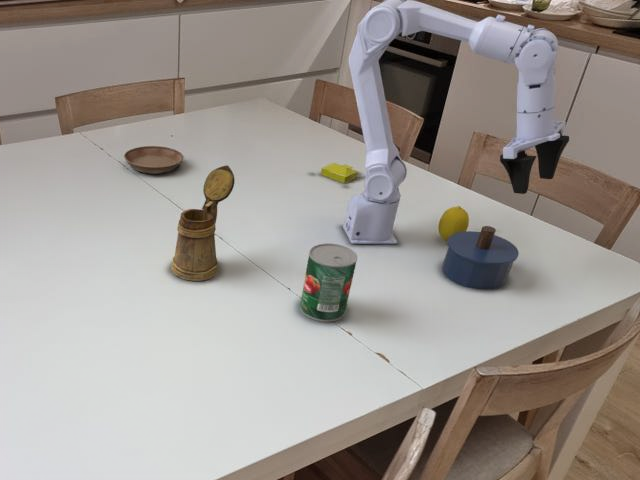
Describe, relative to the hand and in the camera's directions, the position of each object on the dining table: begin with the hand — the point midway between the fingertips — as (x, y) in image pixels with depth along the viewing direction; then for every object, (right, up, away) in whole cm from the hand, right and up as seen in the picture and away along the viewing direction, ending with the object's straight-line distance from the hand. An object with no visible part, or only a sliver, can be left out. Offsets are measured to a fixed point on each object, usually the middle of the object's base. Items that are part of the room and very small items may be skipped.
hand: (533, 185), depth 121 cm
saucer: (-69, +17, +48) cm, 86 cm away
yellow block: (-23, +14, +45) cm, 53 cm away
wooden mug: (-59, -13, +9) cm, 62 cm away
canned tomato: (-39, -23, -3) cm, 45 cm away
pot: (-7, -15, +8) cm, 18 cm away
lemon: (-8, -7, +18) cm, 21 cm away
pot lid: (-7, -11, +4) cm, 14 cm away
